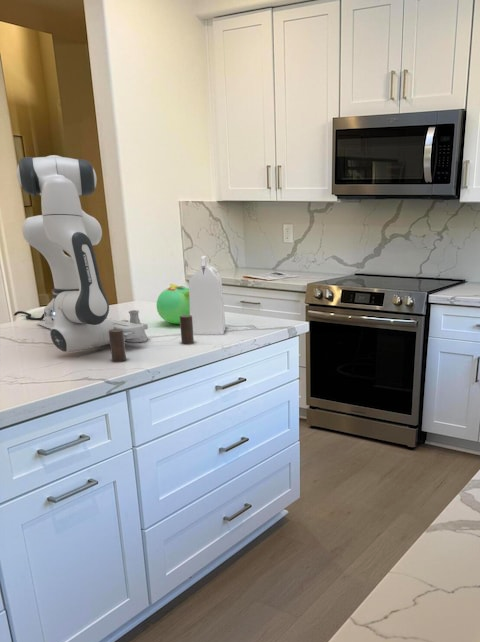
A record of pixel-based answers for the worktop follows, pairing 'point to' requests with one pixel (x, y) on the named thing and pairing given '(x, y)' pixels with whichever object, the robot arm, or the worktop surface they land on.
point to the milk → (206, 300)
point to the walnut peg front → (117, 345)
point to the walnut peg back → (186, 329)
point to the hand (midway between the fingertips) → (136, 324)
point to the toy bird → (173, 303)
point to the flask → (135, 319)
